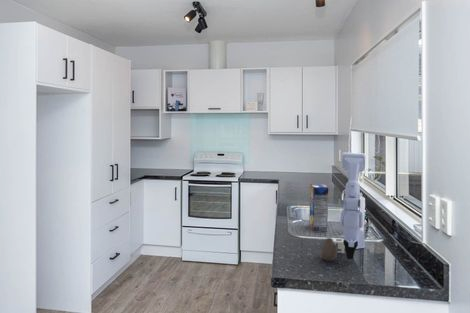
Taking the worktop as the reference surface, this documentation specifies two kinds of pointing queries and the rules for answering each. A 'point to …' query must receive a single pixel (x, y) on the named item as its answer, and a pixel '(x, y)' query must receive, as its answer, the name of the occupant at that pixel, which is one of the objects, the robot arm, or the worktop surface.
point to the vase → (328, 250)
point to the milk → (362, 207)
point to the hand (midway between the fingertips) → (349, 258)
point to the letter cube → (339, 245)
